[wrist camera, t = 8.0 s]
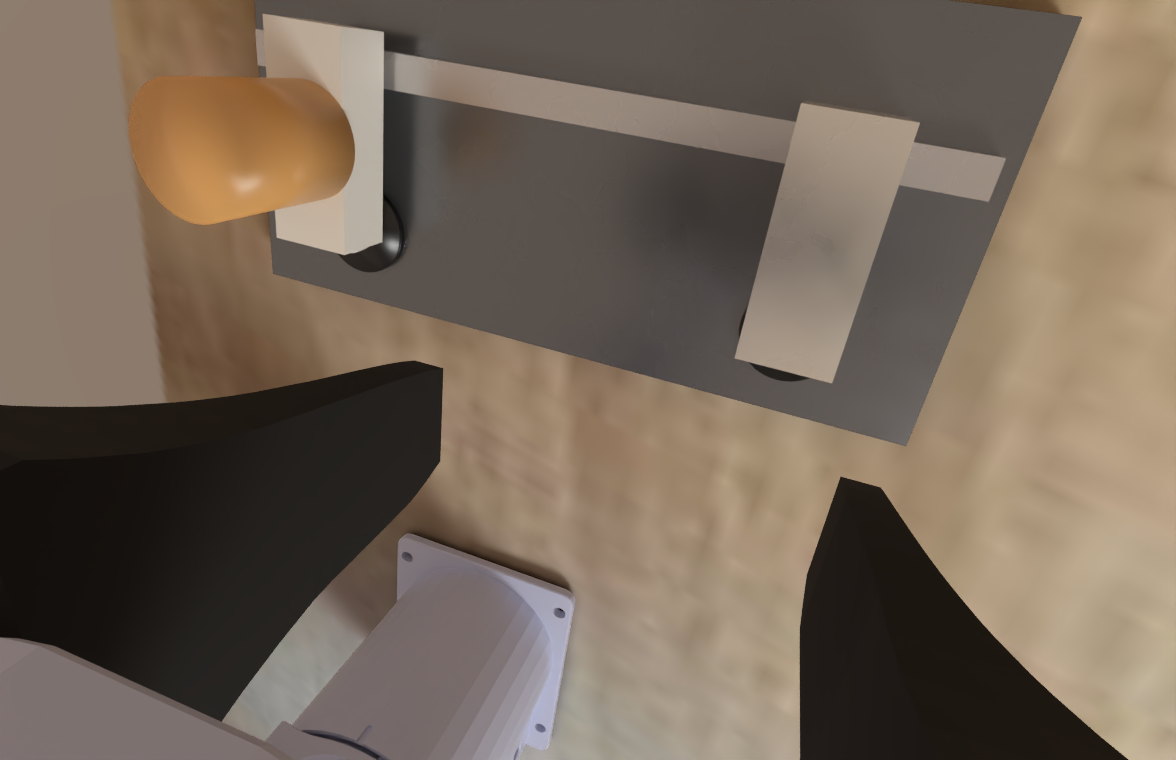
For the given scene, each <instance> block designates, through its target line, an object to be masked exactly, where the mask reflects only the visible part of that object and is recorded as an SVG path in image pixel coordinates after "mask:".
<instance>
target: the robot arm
mask: <svg viewBox="0 0 1176 760" xmlns="http://www.w3.org/2000/svg"><path fill="white" fill-rule="evenodd" d="M442 389H443V368H440V367H436V366H432V365H429V364H425V363H421V362H418V361H405V362H398V363H392V364H386V365H381V366H376V367H372V368H367V369H363V370H358V371H354V372H349V373H345V374H341V375H336V376H332V377H327V378H323V379H318V380H314V381H310V382H305V383H299V384H294V385H289V386H284V387H279V388H274V389H269V390H264V391H259V392H253V393H247V394H241V395H235V396H228V397H221V398H212V399H204V400H195V401H186V402H176V403H160V404H144V405H127V406H108V407H107V406H106V407H33V406H7V405H0V760H518V759H519V757H520V755H521V753H522V750H523V748H524V746H525V744H526V745H528V746H531V747H533V748H535V749H538V750H545V749H547V748H548V746H549V743H550V741H551V736H552V731H553V725H554V720H555V714H556V708H557V703H558V697H559V691H560V686H561V680H562V675H563V669H564V663H565V658H566V652H567V646H568V641H569V635H570V629H571V624H572V618H573V613H574V607H575V597H574V595H573V594H572V593H571V592H570V591H568V590H566V589H564V588H561V587H559V586H556V585H553V584H550V583H547V582H545V581H542V580H539V579H536V578H534V577H531V576H528V575H525V574H522V573H520V572H517V571H514V570H511V569H509V568H506V567H503V566H500V565H497V564H495V563H492V562H489V561H486V560H483V559H481V558H478V557H475V556H472V555H470V554H467V553H464V552H461V551H458V550H456V549H453V548H450V547H447V546H445V545H442V544H439V543H436V542H433V541H431V540H428V539H425V538H422V537H420V536H417V535H414V534H410V533H407V534H404V535H403V536H402V537H401V538H400V540H399V541H398V563H397V603H396V604H395V605H394V606H393V607H392V608H391V610H390V611H389V612H388V613H387V614H386V615H385V617H384V618H383V619H382V620H381V621H380V622H379V624H378V625H377V626H376V627H375V628H374V630H373V631H372V632H371V633H370V634H369V635H368V637H367V638H366V639H365V640H364V641H363V642H362V644H361V645H360V646H359V647H358V648H357V649H356V651H355V652H354V653H353V654H352V655H351V656H350V658H349V659H348V660H347V661H346V662H345V663H344V665H343V666H342V667H341V668H340V669H339V671H338V672H337V673H336V674H335V675H334V676H333V678H332V679H331V680H330V681H329V682H328V683H327V685H326V686H325V687H324V688H323V689H322V690H321V692H320V693H319V694H318V695H317V696H316V697H315V699H314V700H313V701H312V702H311V703H310V705H309V706H308V707H307V708H306V709H305V710H304V712H303V713H302V714H301V715H300V716H299V717H298V719H297V720H296V721H295V722H294V723H293V724H292V725H290V724H289V723H287V722H285V721H283V722H281V723H280V725H279V726H278V727H277V728H276V729H275V730H274V731H273V733H272V734H271V735H270V736H269V737H268V738H267V739H266V741H262V740H260V739H258V738H256V737H254V736H251V735H249V734H247V733H245V732H243V731H240V730H238V729H236V728H234V727H232V726H229V725H227V724H225V723H223V722H222V720H223V719H224V717H225V716H226V714H227V713H228V712H229V710H230V709H231V707H232V706H233V705H234V703H235V702H236V700H237V699H238V697H239V696H240V695H241V693H242V692H243V690H244V689H245V688H246V686H247V685H248V684H249V682H250V681H251V680H252V678H253V677H254V676H255V674H256V673H257V672H258V671H259V669H260V668H261V667H262V665H263V664H264V663H265V661H266V660H267V659H268V657H269V656H270V655H271V653H272V652H273V651H274V649H275V648H276V647H277V645H278V644H279V643H280V642H281V640H282V639H283V638H284V637H285V635H286V634H287V633H288V632H289V630H290V629H291V628H292V627H293V625H294V624H295V623H296V622H297V620H298V619H299V618H300V617H301V616H302V614H303V613H304V612H305V611H306V609H307V608H308V607H309V606H310V604H311V603H312V602H313V601H314V600H315V598H316V597H317V596H318V595H319V594H320V593H321V592H322V591H323V590H324V589H325V588H326V586H327V585H328V584H329V583H330V582H331V581H332V580H333V579H334V578H335V577H336V576H337V575H338V574H339V573H340V572H341V571H342V570H343V569H344V568H345V567H346V566H347V565H348V564H349V563H350V562H351V561H352V560H353V559H354V558H355V557H356V556H357V555H358V554H359V553H360V552H361V551H362V550H363V549H364V548H365V547H366V546H367V545H368V544H369V543H370V542H371V541H372V540H373V539H374V538H375V537H376V536H377V535H378V534H379V533H380V532H381V531H382V530H383V529H384V528H385V527H386V526H387V525H388V524H389V523H390V522H391V521H392V520H393V519H394V518H395V517H396V516H397V515H398V514H399V513H400V512H401V511H402V510H403V509H404V508H405V507H406V506H407V505H408V503H409V502H410V501H411V500H412V499H413V498H414V496H415V495H416V494H417V493H418V491H419V490H420V489H421V487H422V486H423V485H424V483H425V482H426V481H427V479H428V478H429V476H430V475H431V473H432V472H433V471H434V469H435V468H436V466H437V465H438V464H439V462H440V450H441V419H442ZM409 553H410V554H411V555H409ZM558 608H560V609H562V610H563V611H564V612H562V611H560V610H559V609H558ZM800 760H1128V759H1127V758H1126V757H1124V756H1123V755H1122V754H1121V753H1119V752H1118V751H1117V750H1116V749H1115V748H1113V747H1112V746H1111V745H1110V744H1108V743H1107V742H1106V741H1105V740H1104V739H1102V738H1101V737H1100V736H1099V735H1098V734H1096V733H1095V732H1094V731H1093V730H1092V729H1091V728H1090V727H1088V726H1087V725H1086V724H1085V723H1084V722H1083V721H1082V720H1081V719H1079V718H1078V717H1077V716H1076V715H1075V714H1074V713H1073V712H1071V711H1070V710H1069V709H1068V708H1067V707H1066V706H1065V705H1064V704H1062V703H1061V702H1060V701H1059V700H1058V699H1057V698H1056V697H1054V696H1053V695H1052V694H1051V693H1050V692H1049V691H1048V690H1047V689H1046V688H1045V687H1044V686H1043V685H1042V684H1041V683H1040V682H1038V681H1037V680H1036V679H1035V678H1034V677H1033V676H1032V675H1031V674H1030V673H1029V672H1028V671H1027V670H1026V669H1025V668H1024V667H1023V666H1022V665H1021V664H1020V663H1019V662H1018V661H1017V660H1016V659H1015V658H1014V657H1013V656H1012V655H1011V654H1010V653H1009V651H1008V650H1007V649H1006V648H1005V647H1004V646H1003V645H1002V644H1001V643H1000V642H999V641H998V640H997V639H996V638H995V637H994V636H993V635H992V634H991V633H990V632H989V631H988V629H987V628H986V627H985V626H984V625H983V624H982V623H981V622H980V621H979V619H978V618H977V617H976V616H975V615H974V614H973V612H972V611H971V610H970V609H969V608H968V606H967V605H966V604H965V603H964V602H963V600H962V599H961V598H960V597H959V596H958V594H957V593H956V592H955V591H954V590H953V588H952V587H951V586H950V585H949V583H948V582H947V581H946V579H945V578H944V577H943V576H942V574H941V573H940V572H939V570H938V569H937V568H936V566H935V565H934V564H933V562H932V561H931V560H930V558H929V557H928V556H927V554H926V553H925V551H924V550H923V549H922V547H921V546H920V544H919V543H918V542H917V540H916V539H915V537H914V536H913V534H912V533H911V531H910V530H909V529H908V527H907V526H906V524H905V523H904V521H903V520H902V518H901V517H900V515H899V514H898V512H897V511H896V509H895V508H894V506H893V505H892V503H891V502H890V500H889V499H888V497H887V496H886V494H885V493H884V492H883V490H882V489H881V488H880V487H877V486H873V485H869V484H866V483H862V482H858V481H855V480H851V479H847V478H844V477H840V480H839V483H838V486H837V489H836V492H835V495H834V498H833V501H832V504H831V507H830V509H829V512H828V515H827V518H826V521H825V524H824V527H823V530H822V533H821V536H820V539H819V541H818V544H817V547H816V550H815V553H814V556H813V559H812V562H811V565H810V568H809V571H808V573H807V579H806V586H805V593H804V600H803V608H802V616H801V624H800Z"/></svg>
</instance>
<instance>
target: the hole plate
mask: <svg viewBox="0 0 1176 760" xmlns="http://www.w3.org/2000/svg"><path fill="white" fill-rule="evenodd" d="M255 14H256V29H255V33H256V48H257V62H258V65H259V73H260V77H263V78H267V77H266V61H265V45H264V29H263V14H269V15H277V16H285V17H292V18H300V19H308V20H315V21H321V22H327V23H333V24H339V25H345V26H351V27H358V28H364V29H370V30H376V31H382V32H384V92H383V238H382V242H381V243H378V244H376V245H373V246H370V247H368V248H366V249H365V250H362V251H359V252H356V253H349V254H346V255H342V254H338V253H334V252H331V251H327V250H323V249H319V248H315V247H311V246H307V245H303V244H299V243H296V242H292V241H288V240H284V239H280V238H277V235H276V219H275V210H273V211H269V222H270V237H271V252H272V266H273V274H276V275H279V276H283V277H287V278H290V279H294V280H298V281H301V282H305V283H309V284H312V285H316V286H320V287H323V288H327V289H331V290H334V291H338V292H342V293H346V294H349V295H353V296H357V297H360V298H364V299H368V300H371V301H375V302H379V303H382V304H386V305H390V306H393V307H397V308H401V309H404V310H408V311H412V312H415V313H419V314H423V315H426V316H430V317H434V318H437V319H441V320H445V321H448V322H452V323H456V324H459V325H463V326H467V327H470V328H474V329H478V330H481V331H485V332H489V333H492V334H496V335H500V336H503V337H507V338H511V339H514V340H518V341H522V342H525V343H529V344H533V345H536V346H540V347H544V348H547V349H551V350H555V351H558V352H562V353H566V354H569V355H573V356H577V357H580V358H584V359H588V360H591V361H595V362H599V363H602V364H606V365H610V366H613V367H617V368H621V369H624V370H628V371H632V372H635V373H639V374H643V375H647V376H650V377H654V378H658V379H661V380H665V381H669V382H672V383H676V384H680V385H683V386H687V387H691V388H694V389H698V390H702V391H705V392H709V393H713V394H716V395H720V396H724V397H727V398H731V399H735V400H738V401H742V402H746V403H749V404H753V405H757V406H760V407H764V408H768V409H771V410H775V411H779V412H782V413H786V414H790V415H793V416H797V417H801V418H804V419H808V420H812V421H815V422H819V423H823V424H826V425H830V426H834V427H837V428H841V429H845V430H848V431H852V432H856V433H859V434H863V435H867V436H870V437H874V438H878V439H881V440H885V441H889V442H892V443H896V444H900V445H903V446H906V445H907V443H908V440H909V438H910V435H911V433H912V430H913V428H914V426H915V423H916V421H917V418H918V416H919V413H920V411H921V408H922V406H923V404H924V401H925V399H926V396H927V394H928V391H929V389H930V387H931V384H932V382H933V379H934V377H935V374H936V372H937V370H938V367H939V365H940V362H941V360H942V357H943V355H944V352H945V350H946V348H947V345H948V343H949V340H950V338H951V335H952V333H953V331H954V328H955V326H956V323H957V321H958V318H959V316H960V313H961V311H962V309H963V306H964V304H965V301H966V299H967V296H968V294H969V292H970V289H971V287H972V284H973V282H974V279H975V277H976V275H977V272H978V270H979V267H980V265H981V262H982V260H983V257H984V255H985V253H986V250H987V248H988V245H989V243H990V240H991V238H992V236H993V233H994V231H995V228H996V226H997V223H998V221H999V218H1000V216H1001V214H1002V211H1003V209H1004V206H1005V204H1006V201H1007V199H1008V197H1009V194H1010V192H1011V189H1012V187H1013V184H1014V182H1015V180H1016V177H1017V175H1018V172H1019V170H1020V167H1021V165H1022V162H1023V160H1024V158H1025V155H1026V153H1027V150H1028V148H1029V145H1030V143H1031V141H1032V138H1033V136H1034V133H1035V131H1036V128H1037V126H1038V123H1039V121H1040V119H1041V116H1042V114H1043V111H1044V109H1045V106H1046V104H1047V102H1048V99H1049V97H1050V94H1051V92H1052V89H1053V87H1054V85H1055V82H1056V80H1057V77H1058V75H1059V72H1060V70H1061V67H1062V65H1063V63H1064V60H1065V58H1066V55H1067V53H1068V50H1069V48H1070V46H1071V43H1072V41H1073V38H1074V36H1075V33H1076V31H1077V28H1078V26H1079V24H1080V21H1081V19H1082V17H1079V16H1071V15H1063V14H1055V13H1047V12H1039V11H1031V10H1023V9H1015V8H1007V7H999V6H991V5H982V4H974V3H966V2H958V1H950V0H255Z"/></svg>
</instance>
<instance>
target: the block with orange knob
mask: <svg viewBox="0 0 1176 760" xmlns="http://www.w3.org/2000/svg"><path fill="white" fill-rule="evenodd" d="M263 29H264V45H265V61H266V77H267V78H263V77H200V76H162V77H158V78H154V79H152V80H151V81H149V82H147V83H146V84H145V85H144V86H143V87H142V88H141V89H140V90H139V91H138V93H137V95H136V97H135V98H134V101H133V104H132V107H131V111H130V117H129V136H130V143H131V149H132V152H133V156H134V159H135V162H136V165H137V167H138V170H139V172H140V174H141V176H142V178H143V180H144V181H145V183H146V185H147V186H148V188H149V189H150V191H151V192H152V193H153V195H154V196H155V197H156V198H157V199H158V201H159V202H160V203H161V204H162V205H163V206H164V207H165V208H167V209H168V210H169V211H170V212H171V213H173V214H174V215H176V216H178V217H179V218H181V219H183V220H185V221H188V222H191V223H194V224H200V225H209V224H214V223H219V222H223V221H228V220H233V219H237V218H242V217H246V216H251V215H255V214H260V213H264V212H269V211H273V210H275V219H276V235H277V238H280V239H284V240H288V241H292V242H296V243H299V244H303V245H307V246H311V247H315V248H319V249H323V250H327V251H331V252H334V253H338V254H342V255H346V254H349V253H356V252H359V251H362V250H365V249H366V248H368V247H370V246H373V245H376V244H378V243H381V242H382V238H383V92H384V32H382V31H376V30H370V29H364V28H358V27H351V26H345V25H339V24H333V23H327V22H321V21H315V20H308V19H300V18H292V17H285V16H277V15H269V14H263Z"/></svg>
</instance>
